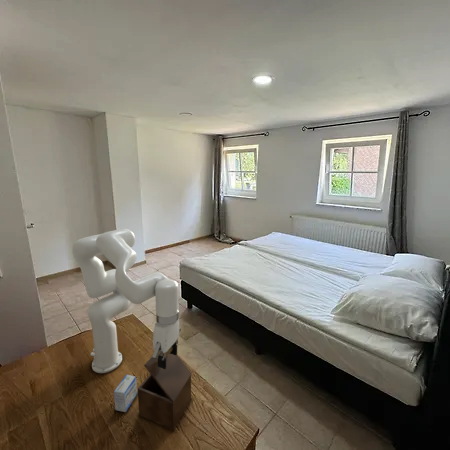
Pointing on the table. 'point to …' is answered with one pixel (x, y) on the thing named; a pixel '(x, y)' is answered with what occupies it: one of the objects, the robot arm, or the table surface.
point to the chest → (162, 403)
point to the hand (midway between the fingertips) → (167, 359)
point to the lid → (169, 374)
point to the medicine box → (125, 393)
